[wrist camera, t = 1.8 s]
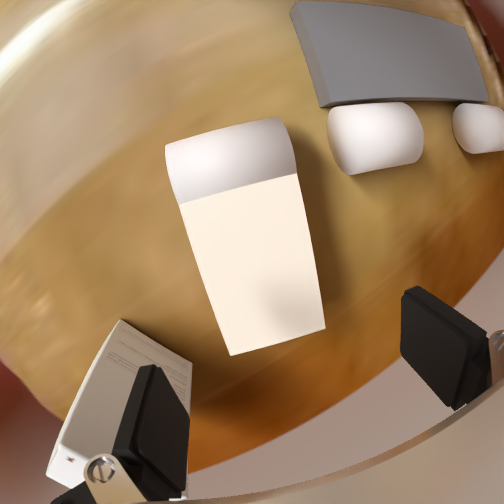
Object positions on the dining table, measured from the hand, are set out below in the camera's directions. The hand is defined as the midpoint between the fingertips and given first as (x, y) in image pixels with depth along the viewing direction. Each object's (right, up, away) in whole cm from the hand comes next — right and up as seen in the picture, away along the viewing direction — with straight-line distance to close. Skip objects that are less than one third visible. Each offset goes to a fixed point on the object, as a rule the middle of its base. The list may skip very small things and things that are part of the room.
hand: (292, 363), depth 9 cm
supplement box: (-11, -6, +12) cm, 18 cm away
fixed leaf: (+11, +18, +7) cm, 23 cm away
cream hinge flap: (-2, +6, +10) cm, 11 cm away
